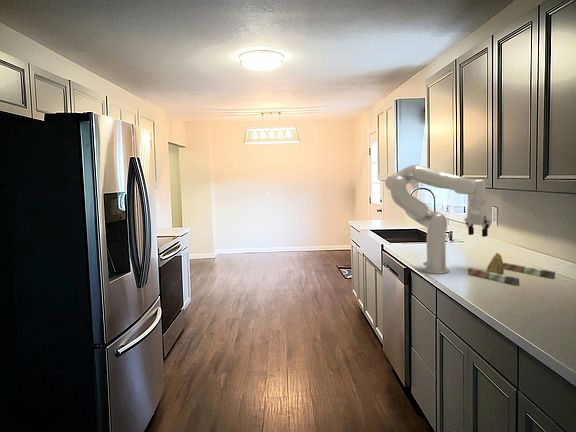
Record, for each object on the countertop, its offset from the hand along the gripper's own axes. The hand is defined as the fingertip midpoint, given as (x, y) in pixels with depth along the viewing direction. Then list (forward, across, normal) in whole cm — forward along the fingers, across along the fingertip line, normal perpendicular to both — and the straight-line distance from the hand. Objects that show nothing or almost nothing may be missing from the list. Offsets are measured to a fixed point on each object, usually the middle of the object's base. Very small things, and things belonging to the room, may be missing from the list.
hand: (477, 235), depth 235 cm
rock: (+18, +11, 0) cm, 21 cm away
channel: (+18, +20, 0) cm, 27 cm away
